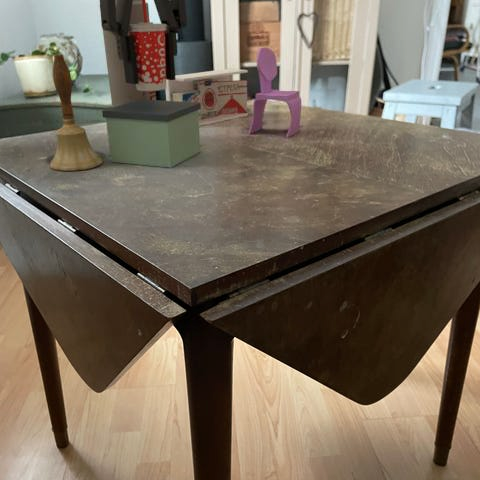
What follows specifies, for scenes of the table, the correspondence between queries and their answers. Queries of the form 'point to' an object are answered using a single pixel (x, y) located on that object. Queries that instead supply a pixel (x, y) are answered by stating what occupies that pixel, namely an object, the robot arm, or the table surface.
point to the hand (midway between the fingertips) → (150, 80)
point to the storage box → (153, 132)
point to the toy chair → (273, 93)
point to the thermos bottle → (115, 66)
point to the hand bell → (70, 127)
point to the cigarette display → (211, 94)
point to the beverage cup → (149, 53)
